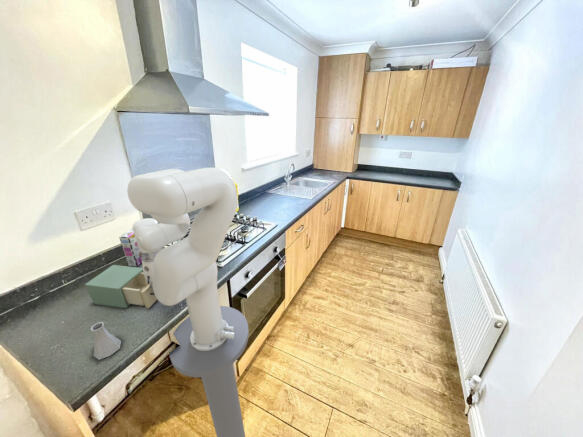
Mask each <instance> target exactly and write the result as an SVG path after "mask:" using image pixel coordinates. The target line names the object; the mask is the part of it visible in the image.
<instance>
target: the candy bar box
mask: <svg viewBox="0 0 583 437" xmlns="http://www.w3.org/2000/svg"><path fill="white" fill-rule="evenodd" d="M118 238H119V242H120V245H121V248H122V251H123V253H124V256H125V260H126V262H127V266H128V267H137V268H139V266H140V265H142V260H141V257H142V256H141V253H140V250H139V247H138V244H137V241H136V237H135V234H134V231H133V228H131V229H130V230H127V232H125V233H123V234H122V235H121V236H119V237H118Z"/></svg>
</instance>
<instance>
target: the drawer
mask: <svg viewBox="0 0 583 437" xmlns="http://www.w3.org/2000/svg"><path fill="white" fill-rule="evenodd" d="M121 290H122V293H123V296H124V298H125V301H126V303H129V304H130V305H136V306H142V307H143V306H145V309H150V308H151V307H152V305H153V304H155V303H156V301H158V300H157V298H156V296H155V294H154V291H153V289H152V288H150V284H147V282H146V280H145V277H144V273H143V272H141V273H140V274H138V275H137V276H136V277H135V278H134V279H132V280H131V281H130V282H129V283H128V284H126V285H125V286H124V287H123V288H122V289H121Z"/></svg>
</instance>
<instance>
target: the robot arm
mask: <svg viewBox="0 0 583 437" xmlns="http://www.w3.org/2000/svg"><path fill="white" fill-rule="evenodd" d="M126 193H127V197H128V200H129V202H130V204H131V205H132V206H133V208H134V209H136V210H137V211H138V212H140V213H142V214H145V215H150V217H146V218H141V219H139V220H137V221H135V222H134V223H133V224H132V229H133V231H134V234H135V237H136V241H137V244H138V247H139V250H140V253H141V256H142V257H141V260H142V263H141V266H142V267H141V268H143V273H144V277H145V280H146V282H147V284H150V288H152V289H153V291H154V294H155V296H156V298H157V300H156V301H158V302H159V303H160V304H161V305H163V306H167V307H171V306H175V305H177V304H179V303H181V302H182V301H184V300H185V302H186V307H187V311H188V315H189V316H190V320H191V324H192V328H193V331H192V333H191V336H190V341H191V345H192V346H193V347H194V348H195V349H196V350H198V351H210V350H213V349H215V348H217V347H219V346H220V345H221V344H223V342H224V341H225V340H226V339H227V338H229V339H233V338H234V335H235V333H233V332H229V331H233V329H234V327H231V326H230V327H229V326H228V324H227V322H226V321H224V320H223V319H222V314H221V308H220V306H221V302H220V297H219V296H220V295H219V290H218V274H219V273H218V265H217V262H216V261H217V260H218V258H219V256H220V253H221V250H222V247H223V245H224V242H225V239H226V236H227V233H228V230H229V229H230V227H231V224H232V222H233V220H234V218H235V216H236V212H237V209H238V191H237V187H236V184H235V180H234V179H233V177H232V176H231V175H230V174H229V172H228V171H226V170H225V169H223V168H220V167H215V166H214V167H202V168H201V167H200V168H196V169H191V170H187V171H185V170H184V169H183V170H182V169H179V168H168V169H162V170H157V171H152V172H147V173H142V174H137V175H135V176H133V177H132V178H131V179H130V180H129V181H128V183H127V190H126ZM198 210H199V212H198V213H197V214H196V216H194V218H193V220H192V222H191V219H190V216H189V214H190V213H192V212H195V211H198ZM188 232H189V233H188ZM186 235H187V236H186ZM184 237H185V238H184ZM189 316H188V317H189Z"/></svg>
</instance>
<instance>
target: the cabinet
mask: <svg viewBox="0 0 583 437" xmlns="http://www.w3.org/2000/svg"><path fill="white" fill-rule="evenodd" d="M141 272H143V267H133V266H128V265H118V264H112V265H111V266H109V267H108V268H106V269H105V270H103V271H102V272H101V273H100V274H97V275H96V276H95V277H94V278H91V280H89V281H87V282H86V283H84V286H85V288H86V290H87V293H88V295H89V297H90V298H91V301H92V303H93V305H98V306H99V305H100V306H107V307H114V308H121V309H122V308H123V309H128V308H129V306H131V304H129V303H126V301H125V298H124V296H123V293H122V290H121V289H122V288H123V287H124V286H125V285H126V284H128V283H129V282H130V281H131V280H132V279H134V278H135V277H136V276H137V275H138V274H140V273H141Z"/></svg>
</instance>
